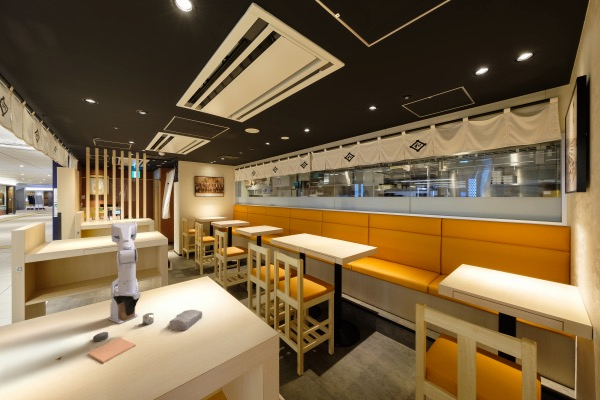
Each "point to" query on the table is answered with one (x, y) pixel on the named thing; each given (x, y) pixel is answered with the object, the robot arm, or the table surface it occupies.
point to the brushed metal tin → (148, 319)
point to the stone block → (185, 319)
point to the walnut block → (124, 312)
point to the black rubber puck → (100, 337)
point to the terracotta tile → (111, 350)
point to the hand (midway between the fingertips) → (126, 313)
